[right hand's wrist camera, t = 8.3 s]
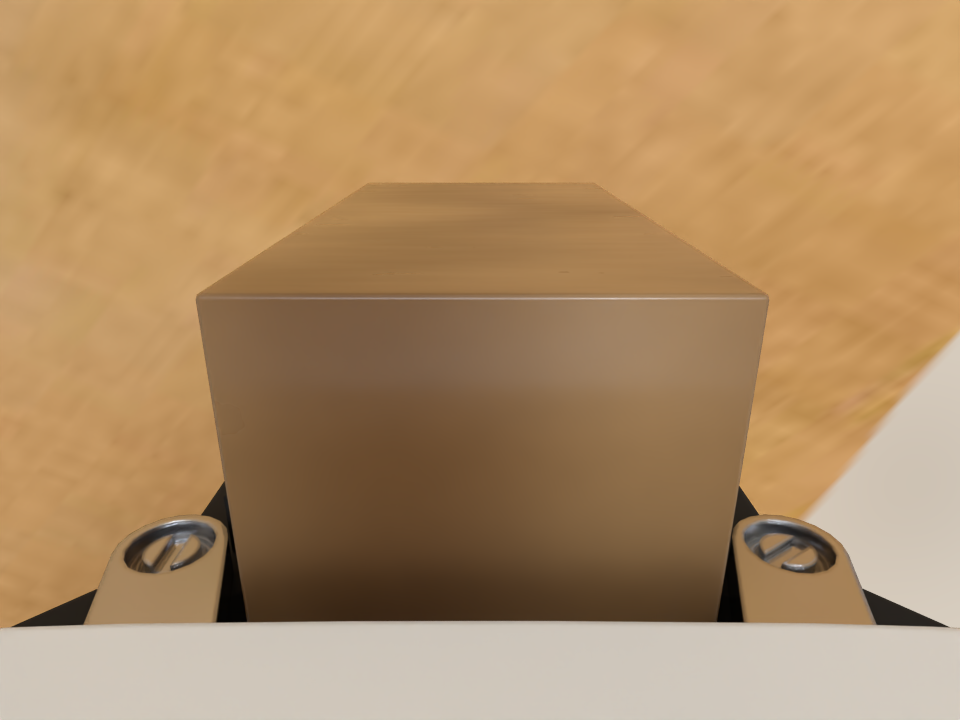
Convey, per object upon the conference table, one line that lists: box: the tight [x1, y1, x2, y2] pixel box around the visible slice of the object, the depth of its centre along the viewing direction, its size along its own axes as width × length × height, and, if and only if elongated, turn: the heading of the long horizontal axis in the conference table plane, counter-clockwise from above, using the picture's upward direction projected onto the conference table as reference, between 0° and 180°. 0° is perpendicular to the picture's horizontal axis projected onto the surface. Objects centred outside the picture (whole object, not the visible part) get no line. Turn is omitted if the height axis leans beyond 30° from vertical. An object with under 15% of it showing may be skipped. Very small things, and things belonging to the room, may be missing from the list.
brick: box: [196, 183, 769, 622], centre depth 11 cm, size 5×9×9 cm, turn 0°
